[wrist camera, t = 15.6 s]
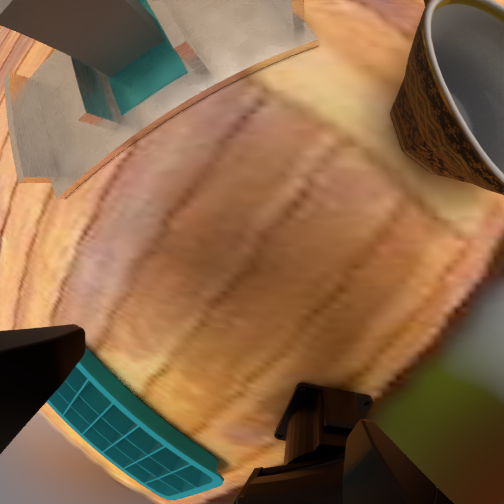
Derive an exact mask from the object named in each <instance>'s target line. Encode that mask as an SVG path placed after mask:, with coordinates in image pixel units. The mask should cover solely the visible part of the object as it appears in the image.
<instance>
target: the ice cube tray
mask: <svg viewBox="0 0 504 504" xmlns="http://www.w3.org/2000/svg"><path fill="white" fill-rule="evenodd" d="M47 403H48V404H49V405H50V406H51V407H52V408H53V409H54V410H55V411H56V412H57V413H58V414H59V416H60V417H61V418H62V419H63V420H64V421H65V422H66V423H67V424H68V425H69V426H70V427H71V428H73V429H74V430H75V431H76V432H77V433H78V434H79V435H80V436H81V437H82V438H83V439H84V440H85V441H87V442H88V443H89V444H90V445H91V446H92V447H93V448H94V449H96V450H97V451H98V452H99V453H100V454H102V455H103V456H104V457H105V458H107V459H108V460H109V461H110V462H112V463H113V464H114V465H115V466H117V467H118V468H119V469H121V470H122V471H123V472H125V473H126V474H127V475H129V476H130V477H132V478H133V479H134V480H136V481H137V482H139V483H140V484H142V485H143V486H145V487H146V488H148V489H149V490H151V491H152V492H154V493H156V494H157V495H159V496H160V497H163V498H165V499H168V500H177V499H181V498H185V497H188V496H191V495H195V494H198V493H201V492H204V491H207V490H210V489H213V488H216V487H218V486H221V485H222V484H223V481H224V479H223V477H222V476H221V475H220V474H219V473H217V467H218V460H217V459H216V458H215V457H214V456H213V455H212V454H210V453H209V452H207V451H206V450H204V449H203V448H201V447H200V446H198V445H197V444H196V443H194V442H193V441H191V440H190V439H189V438H187V437H186V436H184V435H183V434H182V433H180V432H179V431H178V430H176V429H175V428H174V427H172V426H171V425H170V424H169V423H167V422H166V421H165V420H163V419H162V418H161V417H160V416H159V415H157V414H156V413H155V412H154V411H152V410H151V409H150V408H149V407H148V406H147V405H145V404H144V403H143V402H142V401H141V400H140V399H138V398H137V397H136V396H135V395H134V394H133V393H132V392H131V391H130V390H128V389H127V388H126V387H125V386H124V385H123V384H122V383H121V382H120V381H119V380H118V379H117V378H116V377H115V376H114V375H113V374H112V373H111V372H110V371H109V370H108V369H107V368H106V367H105V366H104V365H103V364H102V363H101V362H100V361H99V360H98V359H97V358H96V357H95V356H94V355H93V354H92V353H91V352H90V351H89V350H88V349H87V348H86V351H85V354H84V356H83V357H82V359H81V360H80V361H79V363H78V364H77V365H76V367H75V368H74V369H73V371H72V372H71V373H70V375H69V376H68V377H67V379H66V380H65V381H64V383H63V384H62V385H61V386H60V388H59V389H58V390H57V391H56V392H55V393H54V394H53V395H52V396H51V397H50V398H49V400H48V401H47Z"/></svg>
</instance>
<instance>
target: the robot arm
mask: <svg viewBox="0 0 504 504" xmlns="http://www.w3.org/2000/svg"><path fill="white" fill-rule="evenodd" d="M85 351H86V343H85V331H84V329H83V328H81V327H79V326H77V325H75V324H71V325H62V326H52V327H42V328H31V329H19V330H7V331H0V454H1V453H2V452H3V450H4V449H5V448H6V447H7V446H8V445H9V444H10V442H11V441H12V440H13V439H14V438H15V437H16V435H17V434H18V433H19V432H20V431H21V430H22V428H23V427H24V426H25V425H26V424H27V423H28V422H29V421H30V419H31V418H32V417H33V416H34V415H35V414H36V413H37V412H38V411H39V409H40V408H41V407H42V406H43V405H44V404H45V403H46V402H47V401H48V400H49V398H50V397H51V396H52V395H53V394H54V393H55V392H56V391H57V390H58V389H59V388H60V386H61V385H62V384H63V383H64V381H65V380H66V379H67V377H68V376H69V375H70V373H71V372H72V371H73V369H74V368H75V367H76V365H77V364H78V363H79V361H80V360H81V359H82V357H83V356H84V354H85ZM300 389H305V390H300ZM366 401H368V402H367V403H365V402H366ZM372 404H373V400H372V398H371V396H367V395H361V394H355V393H353V392H347V391H342V390H337V389H332V388H324V387H319V386H315V385H310V384H306V383H300V384H298V385H297V386H296V388H295V390H294V392H293V395H292V397H291V399H290V401H289V403H288V406H287V408H286V410H285V412H284V414H283V416H282V418H281V420H280V422H279V424H278V426H277V428H276V431H275V435H274V436H275V438H276V439H279V440H284V441H286V446H285V456H284V465H281V466H275V467H269V468H263V467H260V468H255V469H254V470H253V472H252V474H251V475H250V477H249V479H248V480H247V482H246V484H245V485H244V487H243V489H242V490H241V492H240V493H239V495H238V497H237V498H236V500H235V502H234V504H454V503H453V502H452V501H451V500H450V499H449V498H448V497H447V496H446V495H445V494H444V493H443V492H442V491H441V490H439V488H437V487H436V486H435V484H434V483H433V482H432V481H431V480H430V479H429V478H428V477H427V476H426V475H425V474H424V473H422V471H421V470H420V469H419V468H418V467H417V466H416V465H415V464H414V463H413V462H412V461H411V460H410V459H409V458H408V457H407V456H406V455H405V454H404V453H403V452H402V451H401V450H400V449H399V448H398V447H397V446H396V444H395V443H393V441H392V440H391V439H390V438H389V437H388V436H387V435H386V434H385V433H384V432H383V431H382V430H381V429H380V428H379V427H378V426H377V424H376V423H375V422H374V421H372V420H364V419H363V418H364V417H365V415H366V414H367V412H368V410H369V409H370V407H371V406H372ZM279 434H282V435H279Z"/></svg>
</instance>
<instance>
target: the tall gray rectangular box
mask: <svg viewBox="0 0 504 504" xmlns="http://www.w3.org/2000/svg"><path fill="white" fill-rule="evenodd" d="M0 25H1V26H4V27H6V28H9V29H11V30H14V31H16V32H19V33H21V34H23V35H26V36H28V37H30V38H33V39H35V40H37V41H39V42H41V43H44V44H46V45H48V46H50V47H52V48H54V49H57V50H59V51H61V52H63V53H65V54H67V55H69V56H71V57H73V58H75V59H77V60H79V61H81V62H83V63H85V64H87V65H89V66H90V67H92V68H94V69H96V70H98V71H100V72H102V73H104V74H105V75H107V76H109V77H113V76H114V75H115V74H117V73H118V72H119V71H121V70H122V69H123V68H125V67H126V66H127V65H129V64H130V63H132V62H133V61H134V60H136V59H137V58H139V57H140V56H142V55H143V54H145V53H146V52H148V51H149V50H151V49H152V48H154V47H155V46H157V45H158V44H160V43H162V42H163V41H165V38H164V37H163V35H162V33H161V31H160V29H159V27H158V25H157V24H156V22H155V20H154V18H153V16H152V15H151V14H150V13H149V12H148V11H147V10H146V9H145V7H144V6H143V5H142V4H141V3H140V2H139V1H138V0H0Z"/></svg>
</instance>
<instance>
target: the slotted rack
mask: <svg viewBox="0 0 504 504" xmlns="http://www.w3.org/2000/svg"><path fill="white" fill-rule="evenodd" d="M138 1H139V2H140V3H141V4H142V5H143V6H144V7H145V9H146V10H147V11H148V12H149V13H150V14H151V15H152V16H153V18H154V20H155V22H156V24H157V25H158V27H159V29H160V31H161V33H162V35H163V37H164V38H165V41H163V42H162V43H160V44H158V45H157V46H155V47H154V48H152V49H151V50H149V51H148V52H146V53H145V54H143V55H142V56H140V57H139V58H137V59H136V60H134V61H133V62H132V63H130V64H129V65H127V66H126V67H125V68H123V69H122V70H121V71H119V72H118V73H117V74H115V75H114V76H113V77H109V76H107V75H105V74H104V73H102V72H100V71H98V70H96V69H94V68H92V67H90V66H89V65H87V64H85V63H83V62H81V61H79V60H77V59H75V58H73V57H71V56H69V55H67V54H65V53H63V52H61V51H59V50H55V51H54V52H53V53H52V54H51V56H50V57H49V58H48V59H47V60H46V61H45V62H44V63H43V64H42V65H41V66H40V67H39V68H38V69H37V70H36V71H35V73H34V74H33V75H32V76H31V77H30V78H27V77H23V76H20V75H17V74H14V73H10V72H9V73H8V74H7V75H6V77H5V78H4V79H5V98H6V110H7V119H8V127H9V134H10V141H11V147H12V152H13V158H14V163H15V167H16V172H17V176H18V181H19V183H52V186H53V189H54V192H55V195H56V198H57V199H65V198H66V197H67V196H68V195H69V194H71V193H72V192H73V191H74V190H75V189H76V188H77V187H78V186H80V185H81V184H82V183H83V182H84V181H85V180H87V179H88V178H89V177H90V176H91V175H92V174H94V173H95V172H96V171H97V170H99V169H100V168H101V167H102V166H104V165H105V164H106V163H107V162H109V161H110V160H111V159H112V158H114V157H115V156H116V155H118V154H119V153H120V152H122V151H123V150H124V149H126V148H127V147H128V146H130V145H131V144H132V143H134V142H135V141H137V140H138V139H140V138H141V137H142V136H144V135H145V134H147V133H148V132H150V131H151V130H153V129H154V128H156V127H157V126H159V125H160V124H162V123H163V122H165V121H166V120H168V119H169V118H171V117H173V116H174V115H176V114H177V113H179V112H181V111H182V110H184V109H186V108H187V107H189V106H191V105H192V104H194V103H196V102H197V101H199V100H201V99H203V98H204V97H206V96H208V95H210V94H212V93H213V92H215V91H217V90H219V89H221V88H223V87H225V86H227V85H229V84H231V83H232V82H234V81H236V80H238V79H240V78H242V77H245V76H247V75H249V74H251V73H253V72H255V71H257V70H259V69H262V68H264V67H266V66H268V65H271V64H273V63H275V62H278V61H280V60H282V59H285V58H287V57H290V56H292V55H295V54H297V53H300V52H302V51H305V50H308V49H311V48H313V47H316V46H318V40H319V39H318V38H317V36H316V35H315V34H314V32H313V31H312V30H311V29H310V27H309V26H308V25H307V24H306V22H305V21H304V0H138Z"/></svg>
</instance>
